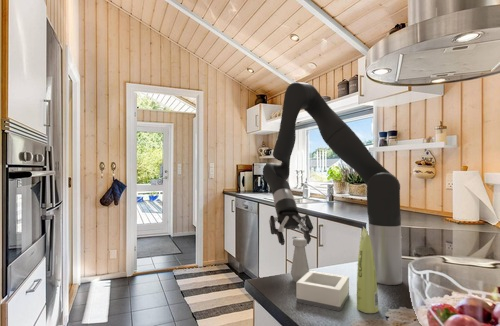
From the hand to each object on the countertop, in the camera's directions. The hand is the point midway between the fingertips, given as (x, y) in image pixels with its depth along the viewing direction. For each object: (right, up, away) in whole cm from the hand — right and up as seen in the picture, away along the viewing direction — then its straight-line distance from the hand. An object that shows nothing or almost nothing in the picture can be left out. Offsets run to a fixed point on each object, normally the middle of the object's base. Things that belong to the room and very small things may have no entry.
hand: (295, 243), depth 98 cm
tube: (+14, -10, -24) cm, 29 cm away
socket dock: (+5, -10, -18) cm, 21 cm away
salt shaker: (+1, -11, -4) cm, 11 cm away
